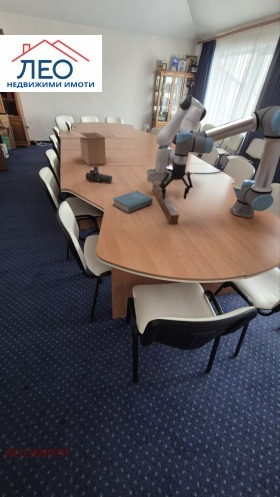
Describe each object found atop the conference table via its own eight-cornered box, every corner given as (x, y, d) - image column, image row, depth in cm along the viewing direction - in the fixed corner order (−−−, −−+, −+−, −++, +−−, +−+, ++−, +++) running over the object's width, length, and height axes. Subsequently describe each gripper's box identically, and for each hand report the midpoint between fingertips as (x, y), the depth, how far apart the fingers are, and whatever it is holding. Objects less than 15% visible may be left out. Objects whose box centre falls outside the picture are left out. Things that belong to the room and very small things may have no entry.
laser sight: (109, 184, 185) (109, 172, 179) (84, 181, 187) (82, 169, 182) (112, 180, 192) (112, 169, 186) (88, 177, 195) (87, 166, 189)
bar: (152, 189, 183) (152, 182, 179) (158, 189, 183) (158, 182, 180) (169, 223, 138) (171, 215, 134) (177, 223, 139) (179, 215, 135)
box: (116, 165, 229) (116, 136, 213) (83, 168, 214) (80, 137, 198) (102, 154, 259) (101, 128, 243) (71, 156, 244) (68, 129, 228)
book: (136, 197, 168) (136, 190, 165) (151, 204, 159) (152, 197, 156) (113, 204, 154) (112, 198, 151) (128, 213, 145) (128, 206, 142)
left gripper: (148, 170, 162) (147, 188, 170) (174, 170, 165) (172, 188, 174) (146, 167, 167) (145, 185, 175) (172, 167, 170) (170, 185, 179)
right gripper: (159, 164, 118) (155, 201, 131) (203, 165, 122) (195, 201, 135) (156, 160, 124) (153, 196, 137) (198, 161, 128) (191, 196, 141)
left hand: (159, 186), depth 174 cm, fingers open, 8 cm apart
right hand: (174, 198), depth 136 cm, fingers open, 13 cm apart
